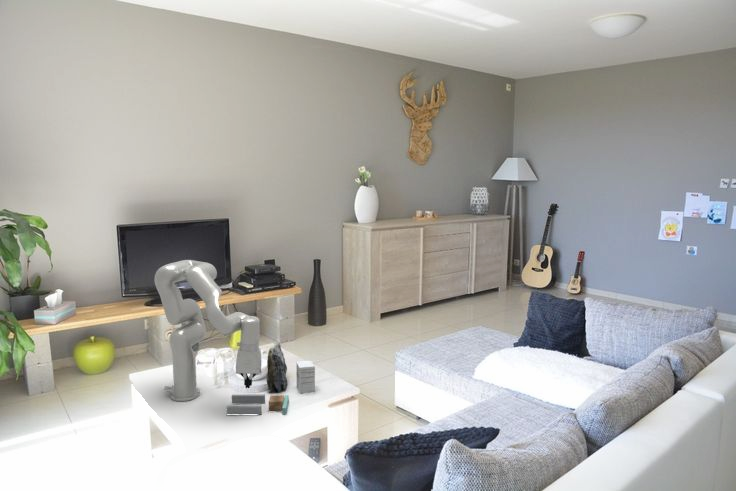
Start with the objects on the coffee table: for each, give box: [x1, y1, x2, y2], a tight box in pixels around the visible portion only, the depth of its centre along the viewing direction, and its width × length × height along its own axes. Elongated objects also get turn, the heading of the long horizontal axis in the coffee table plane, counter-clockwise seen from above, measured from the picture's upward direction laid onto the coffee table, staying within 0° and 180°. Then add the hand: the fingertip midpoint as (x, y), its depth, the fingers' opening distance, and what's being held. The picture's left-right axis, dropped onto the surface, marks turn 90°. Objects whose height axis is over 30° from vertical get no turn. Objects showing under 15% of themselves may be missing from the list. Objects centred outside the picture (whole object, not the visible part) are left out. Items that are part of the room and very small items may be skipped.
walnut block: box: [268, 394, 285, 412], centre depth 220 cm, size 6×6×4 cm
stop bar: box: [281, 394, 290, 416], centre depth 220 cm, size 2×12×3 cm, turn 4°
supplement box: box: [296, 360, 316, 394], centre depth 238 cm, size 7×7×13 cm
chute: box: [226, 393, 266, 415], centre depth 219 cm, size 14×12×4 cm
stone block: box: [266, 341, 288, 394], centre depth 241 cm, size 18×9×20 cm, turn 3°
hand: (247, 386), depth 219 cm, fingers closed
